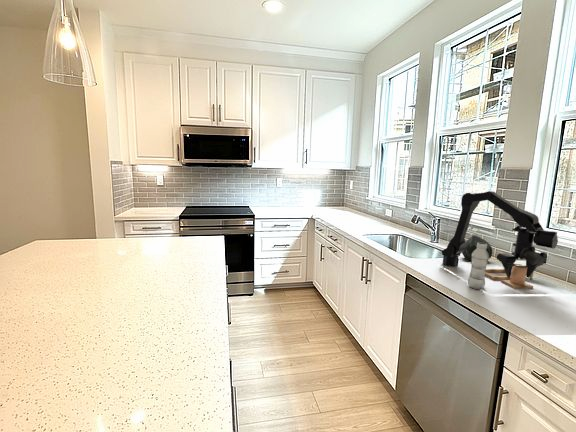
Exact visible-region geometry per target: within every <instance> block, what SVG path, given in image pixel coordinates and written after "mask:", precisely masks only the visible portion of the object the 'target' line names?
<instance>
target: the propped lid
mask: <svg viewBox="0 0 576 432" xmlns="http://www.w3.org/2000/svg"><path fill="white" fill-rule="evenodd" d="M535 252H539V253H541V252H542V251H539V250H535ZM546 254H547V258H548V257H550V255H549V254H548V253H546ZM514 264H521V265H525V266H526V261H522V260H516V261H515V262H514ZM534 271H535V270H534ZM534 271H533V273H532V274H531V276H530V277H529V280H533V279H534V278H533V277H534V273H535V272H534ZM511 272H512V271H511Z"/></svg>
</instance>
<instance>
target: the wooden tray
mask: <svg viewBox="0 0 576 432" xmlns="http://www.w3.org/2000/svg"><path fill="white" fill-rule="evenodd" d="M485 278H487V279H490V280H492V281H501V280H510V278H511V275H510V277H507V275H506V272H505V269H504V268H486V270H485Z"/></svg>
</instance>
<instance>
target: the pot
mask: <svg viewBox="0 0 576 432" xmlns="http://www.w3.org/2000/svg"><path fill="white" fill-rule="evenodd" d="M526 273H527V266H525V265H521V264H515V265H514V266H513V267H512V272H511V278H510V282H511V283H513V284H516V285H524V284H525V283H526V278H527V276H526Z"/></svg>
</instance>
